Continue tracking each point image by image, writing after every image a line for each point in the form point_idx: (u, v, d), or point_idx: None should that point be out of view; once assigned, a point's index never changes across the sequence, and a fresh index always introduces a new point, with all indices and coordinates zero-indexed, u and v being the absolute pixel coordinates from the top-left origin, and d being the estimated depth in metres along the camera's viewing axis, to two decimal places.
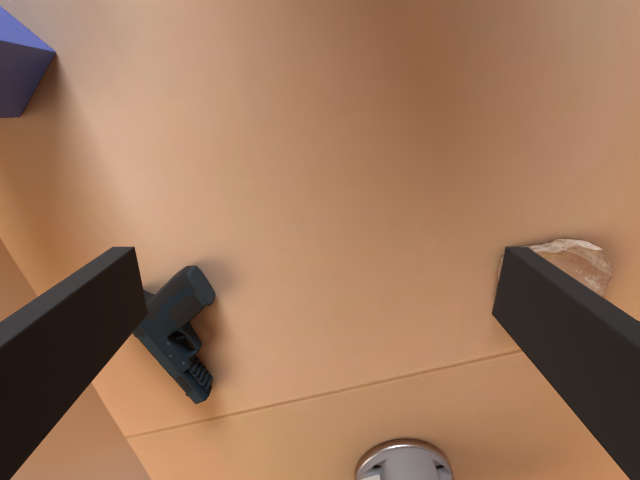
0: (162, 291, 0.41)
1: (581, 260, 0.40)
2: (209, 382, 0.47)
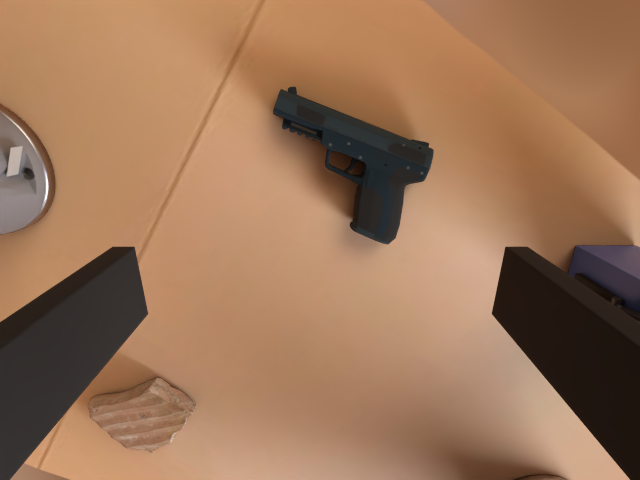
0: (400, 211, 0.38)
1: (154, 441, 0.51)
2: (285, 128, 0.37)
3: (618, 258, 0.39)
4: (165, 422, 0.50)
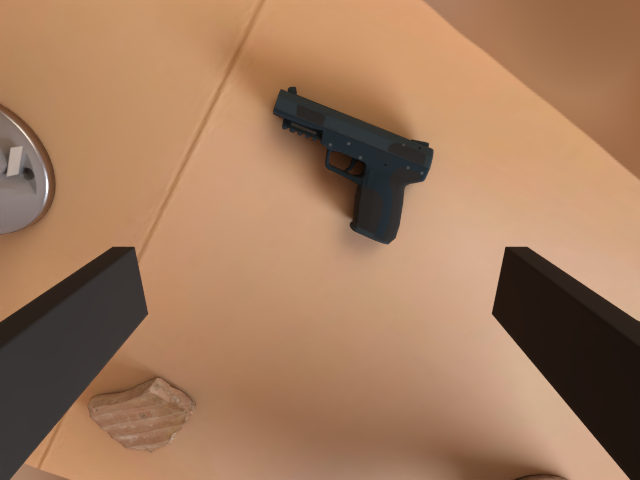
0: (400, 211, 0.38)
1: (154, 441, 0.51)
2: (285, 128, 0.37)
3: None
4: (165, 422, 0.50)
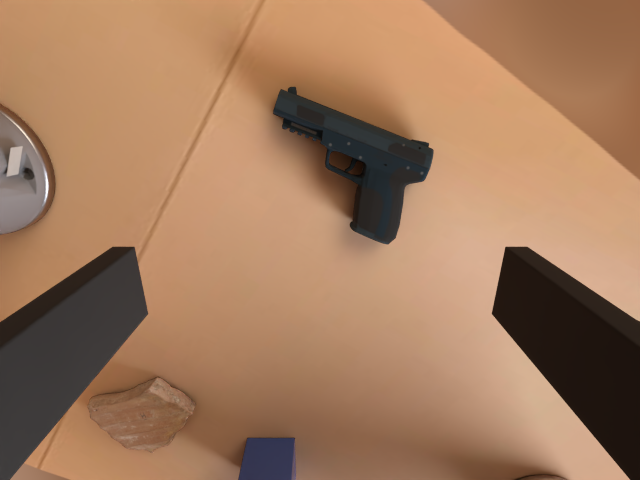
0: (400, 211, 0.38)
1: (154, 441, 0.51)
2: (285, 128, 0.37)
3: (256, 462, 0.51)
4: (165, 422, 0.50)
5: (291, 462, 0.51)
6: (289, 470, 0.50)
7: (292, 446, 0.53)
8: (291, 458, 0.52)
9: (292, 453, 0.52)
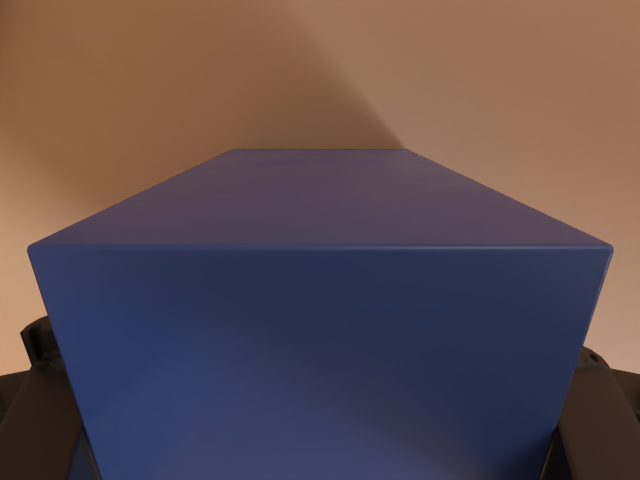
0: None
1: None
2: None
3: (267, 163, 0.11)
4: None
5: (433, 163, 0.11)
6: (443, 170, 0.10)
7: (411, 153, 0.13)
8: (426, 160, 0.11)
9: (422, 158, 0.12)
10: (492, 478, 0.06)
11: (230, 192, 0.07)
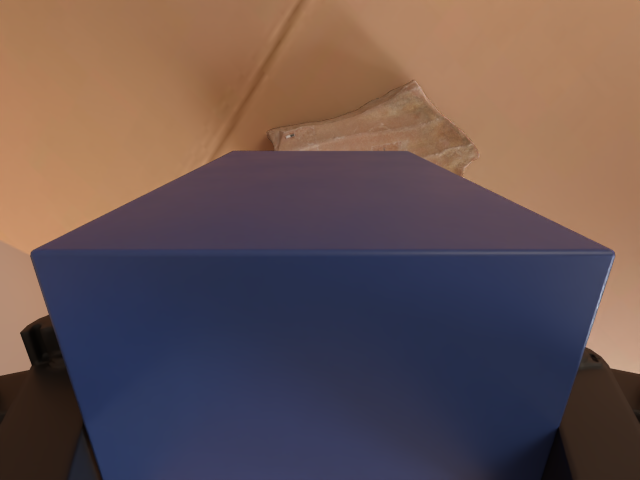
0: None
1: None
2: None
3: (268, 165, 0.11)
4: None
5: (434, 166, 0.11)
6: (444, 172, 0.10)
7: (412, 155, 0.13)
8: (427, 162, 0.11)
9: (423, 160, 0.12)
10: None
11: (232, 195, 0.07)
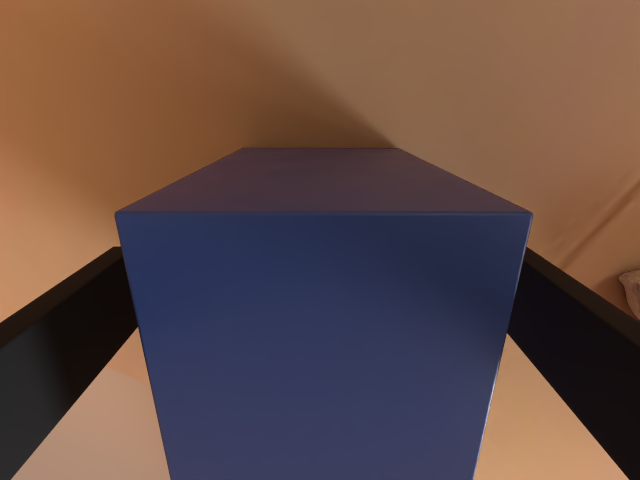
0: None
1: None
2: None
3: (276, 159, 0.13)
4: None
5: (419, 160, 0.13)
6: (425, 165, 0.11)
7: (402, 151, 0.15)
8: (413, 157, 0.13)
9: (410, 155, 0.14)
10: (455, 397, 0.08)
11: (250, 180, 0.09)
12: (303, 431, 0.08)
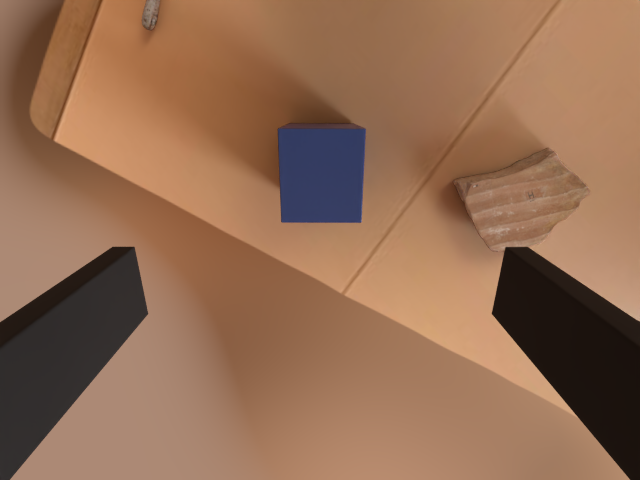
0: None
1: (528, 236, 0.42)
2: None
3: None
4: (553, 206, 0.40)
5: None
6: (355, 125, 0.35)
7: None
8: None
9: (354, 124, 0.37)
10: (353, 177, 0.31)
11: None
12: (316, 189, 0.31)
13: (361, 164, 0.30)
